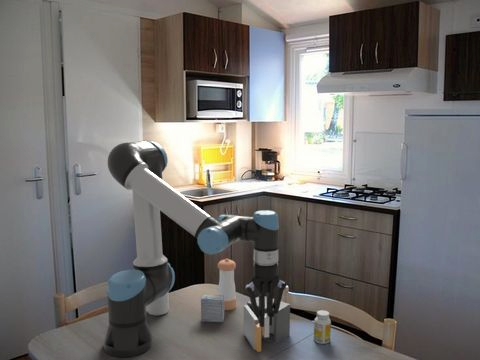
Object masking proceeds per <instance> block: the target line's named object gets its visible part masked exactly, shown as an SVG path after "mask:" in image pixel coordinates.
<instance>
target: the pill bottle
mask: <svg viewBox="0 0 480 360" xmlns="http://www.w3.org/2000/svg"><path fill="white" fill-rule="evenodd" d="M169 310H170V302H169V291H168V292H167V293H166V294H165V295H164V296H162V297H160V298H158V299H157V300H155V301H154V302H152V303H150V304H149V305H147V306H146V311H147V313H148V315H151V316H161V315H162V316H163V315H165V314H167V313H168V312H169Z"/></svg>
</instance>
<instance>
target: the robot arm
mask: <svg viewBox="0 0 480 360" xmlns="http://www.w3.org/2000/svg"><path fill="white" fill-rule="evenodd" d="M168 163H169V162H168V156H167V152H166V151H165V148H164V147H163V146H162V145H161V144H159V143H158V142H156V141H153V140H140V141H139V140H138V141H132V142H131V141H130V142H122V143H118V145H115V146H114V147H113V148H112V149H111V150H110V152H109V154H108V157H107V169H108V171H109V173H110V174H111V176H112V177H113V179H114V180H115V181H116V182H117V183H118V184H120V185H121V186H122V187H123V188H125V189H126V190H128V191H131V192H132V205H133V219H134V230H135V231H134V232H135V246H136V248H135V249H136V258H135V259H134V260H133V261H132V268H133V269H132V268H131V269H125V270H120V271H118V272H116V273H114V274H113V275H112V276H111V277H109V279H108V281H107V290H106V295H107V310H108V312H107V313H108V314H107V315H108V325H107V328H106V329H107V330H106V333H105V336H104V340H103V349H104V352H105V353H107V354H108V355H110V356H113V357H119V358H127V357H134V356H138V355H141V354H143V353H145V352H147V351H148V350H149V349H151V347H152V346H153V334H152V332H151V330H150V327H149V324H148V321H147V305H149V304H150V303H152V302H154V301H155V300H157V299H158V298H160V297H162V296H164V295H165V294H166V293H167V292H168V293H169V292H170V291H171V290H172V288H173V287H174V284H175V280H176V275H175V271H174V268H173V267H171V264H170V263H169V261H168V260H169V259H168V258H167V257H166V256H165V255H164V254H163V242H162V241H163V239H162V224H161V223H162V222H161V213H163V214H164V215H165V216H167V217H168V218H169V219H171V220H172V221H174V222H175V223H176V224H177V225H179V226H180V227H181V228H183V229H184V230H185V231H186V232H188V233H189V234H190V235H192V236H193V237H194V238H195V239H197V245H198V247H199V249H200V251H201V252H203V253H204V254H206V255H215V254H219V253H221V252H224V250H226V249H227V248H228V247H229V246H232V245H234V244H235V243H237V242H239V241H240V242H241V241H242V242H249V243H251V242H252V243H253V277H252V279H251V282H250V283H249V284H248V283H247V284H245V285H244V287H245V289H246V291H247V293H248V296H249V297H248V298H249V299H250V300H249V301H251V305H252V309H253V312H254V314H255V315H256V316H259V324H260V326H261V327H262V334H263V336H264V337H265V338H266V337H269V326H271V325H272V317H273V314H277V313H278V311H279V307H280V303H281V301H282V298H283V294H284V291H285V290H286V287H287V283H286V282H285V281H283V280H281V279H280V277H279V235H280V224H279V223H280V222H279V214H278V213H277V212H276V211H274V210H268V209H267V210H257V211H255V212H253V216H245V215H244V216H243V215H235V214H231V213H229V214H219V215H218V217H217V219H215V218H214V217H212V216H211V215H210V214H208V213H207V212H206V211H204V210H203V209H201V207H199V206H198V205H196V204H195V203H194V202H192V201H191V200H190V199H189V198H187V197H186V196H185V195H183V194H182V193H180V192H179V191H178V190H176V189H175V188H174V187H173V186H171V185H169V184H168V183H167V182H165V181H164V180H163V172H164V171H165V170H166V168H167V166H168ZM255 289H256V290H257V291H258V297H259V310H258V307H257V303H256V299H255V298H256V295H255V292H254V291H255ZM275 289H276V290H275ZM274 290H275V295H274ZM265 297H267V308H266V312H267V314H265ZM273 299H274V302H273Z"/></svg>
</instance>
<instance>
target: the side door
mask: <svg viewBox="0 0 480 360" xmlns="http://www.w3.org/2000/svg"><path fill="white" fill-rule="evenodd" d="M243 334H244V336H245V338H246V339H247V341H248V342H249V344H250V345H251V347H252V349H253V350H254V351H256V352H257V353H259V352H262V339H261V326H260V324H259V323H258V318H257V317H256V316H255V314H254V313H253V312H252V310H251V309H250V308H249V306H248V305H247V304H244V305H243Z"/></svg>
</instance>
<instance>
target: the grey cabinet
mask: <svg viewBox="0 0 480 360" xmlns="http://www.w3.org/2000/svg"><path fill="white" fill-rule="evenodd" d="M255 299H256V303H257V307H258V310H259V296H257V297H255ZM273 302H274V298H273ZM246 305H248V306H249V308H250V309H251V310H252V312H253V309H252V305H251V301H250V300H249V301H247V303H246ZM266 308H267V296H265V314H267V312H266ZM253 313H254V312H253ZM255 316H256V315H255ZM256 317H257V318H258V323H259V316H256ZM290 320H291V304H290V303H287V302H284V301H282V300H281V303H280V307H279V311H278V313H277V314H273V317H272V325H271V326H269V337H266V338H265V337H264V336H263V334H262V327H261V340H264V341H267V342H269V343H272V344H275V345H277V344H279V343H280V342H281V341H283V340H284V339H285V338H287V337H289V336H290V329H291V328H290V327H291V325H290V323H291V321H290Z"/></svg>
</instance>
